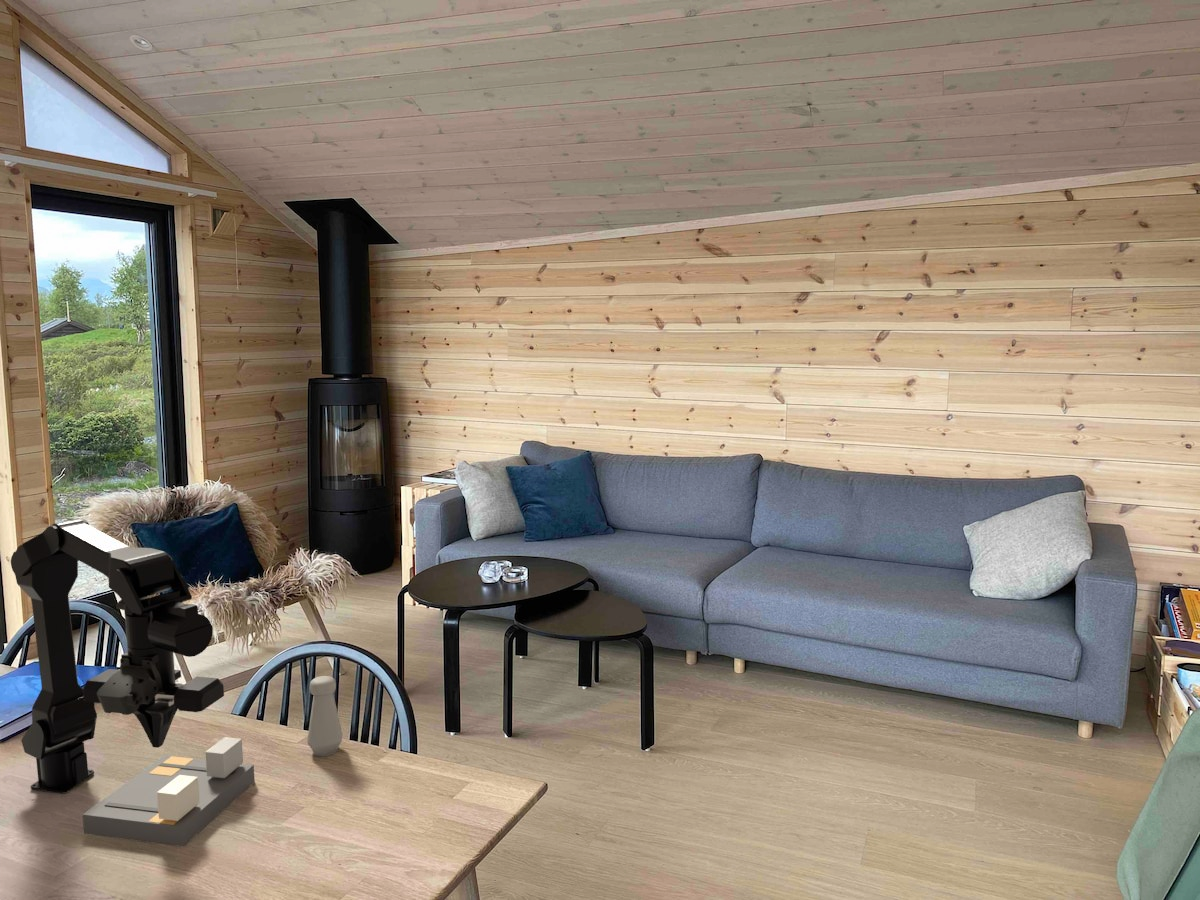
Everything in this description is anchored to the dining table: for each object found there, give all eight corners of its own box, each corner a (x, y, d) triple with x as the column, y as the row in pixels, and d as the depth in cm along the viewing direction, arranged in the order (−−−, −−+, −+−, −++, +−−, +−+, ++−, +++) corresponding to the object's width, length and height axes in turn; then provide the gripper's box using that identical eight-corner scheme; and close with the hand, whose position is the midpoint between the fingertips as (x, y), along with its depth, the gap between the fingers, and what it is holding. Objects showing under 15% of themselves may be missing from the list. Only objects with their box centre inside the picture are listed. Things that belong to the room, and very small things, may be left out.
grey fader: (207, 776, 142) (205, 751, 141) (226, 760, 147) (224, 737, 146) (224, 778, 141) (223, 753, 141) (243, 762, 146) (241, 738, 146)
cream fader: (158, 818, 130) (156, 792, 130) (181, 800, 135) (179, 774, 134) (177, 820, 130) (175, 794, 129) (199, 802, 134) (197, 776, 134)
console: (84, 833, 133) (82, 813, 132) (165, 772, 150) (164, 754, 149) (183, 846, 129) (181, 825, 129) (254, 782, 147) (253, 763, 146)
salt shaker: (332, 760, 154) (329, 687, 152) (301, 757, 155) (297, 684, 153) (349, 744, 160) (346, 673, 158) (318, 741, 161) (315, 670, 159)
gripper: (47, 658, 123) (58, 767, 125) (172, 668, 119) (180, 780, 122) (107, 630, 134) (115, 730, 136) (222, 639, 130) (229, 742, 133)
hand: (158, 746), depth 131 cm, fingers closed
